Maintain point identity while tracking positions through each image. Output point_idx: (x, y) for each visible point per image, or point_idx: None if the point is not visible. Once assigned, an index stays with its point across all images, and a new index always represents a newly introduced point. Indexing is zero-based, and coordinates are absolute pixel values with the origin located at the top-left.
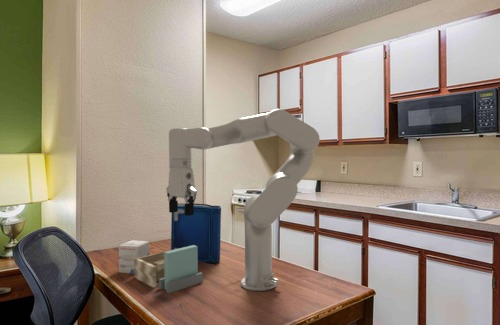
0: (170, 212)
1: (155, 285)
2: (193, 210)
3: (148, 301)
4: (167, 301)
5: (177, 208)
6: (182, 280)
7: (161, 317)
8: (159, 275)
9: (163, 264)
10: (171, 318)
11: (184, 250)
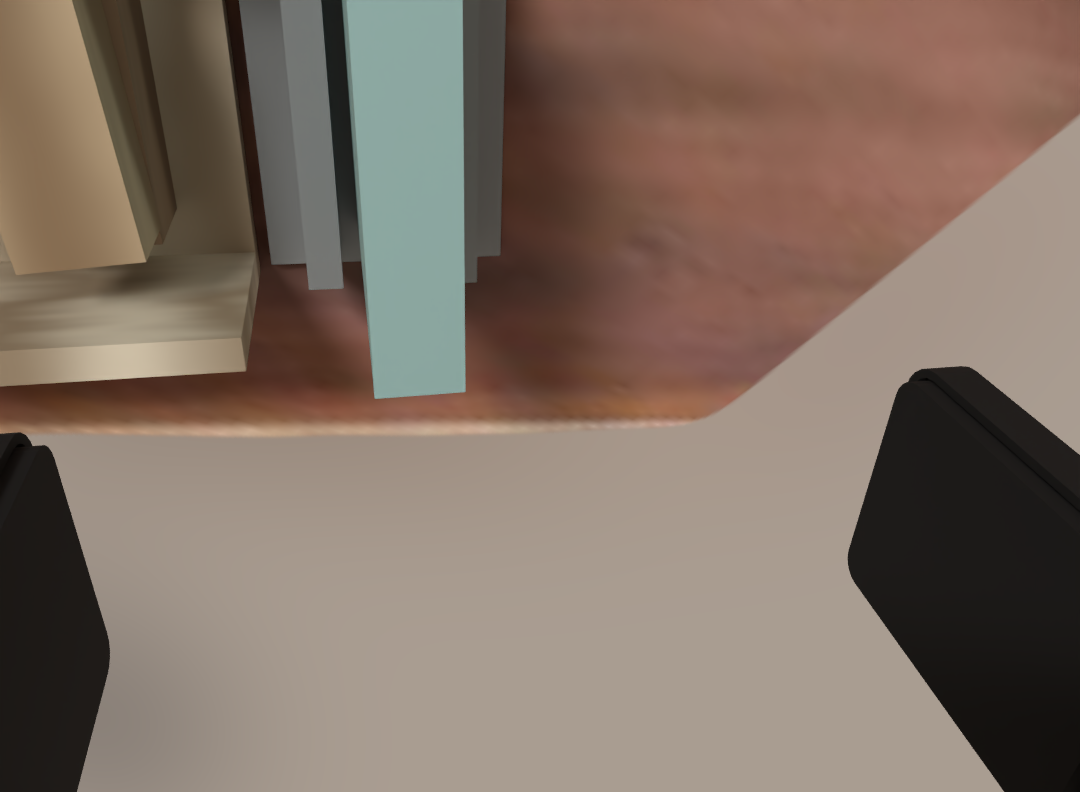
0: (96, 646)
1: (255, 266)
2: (1040, 429)
3: None
4: (531, 284)
5: (19, 512)
6: (475, 128)
7: (688, 404)
8: (163, 211)
9: (131, 197)
10: (742, 371)
11: (460, 146)
